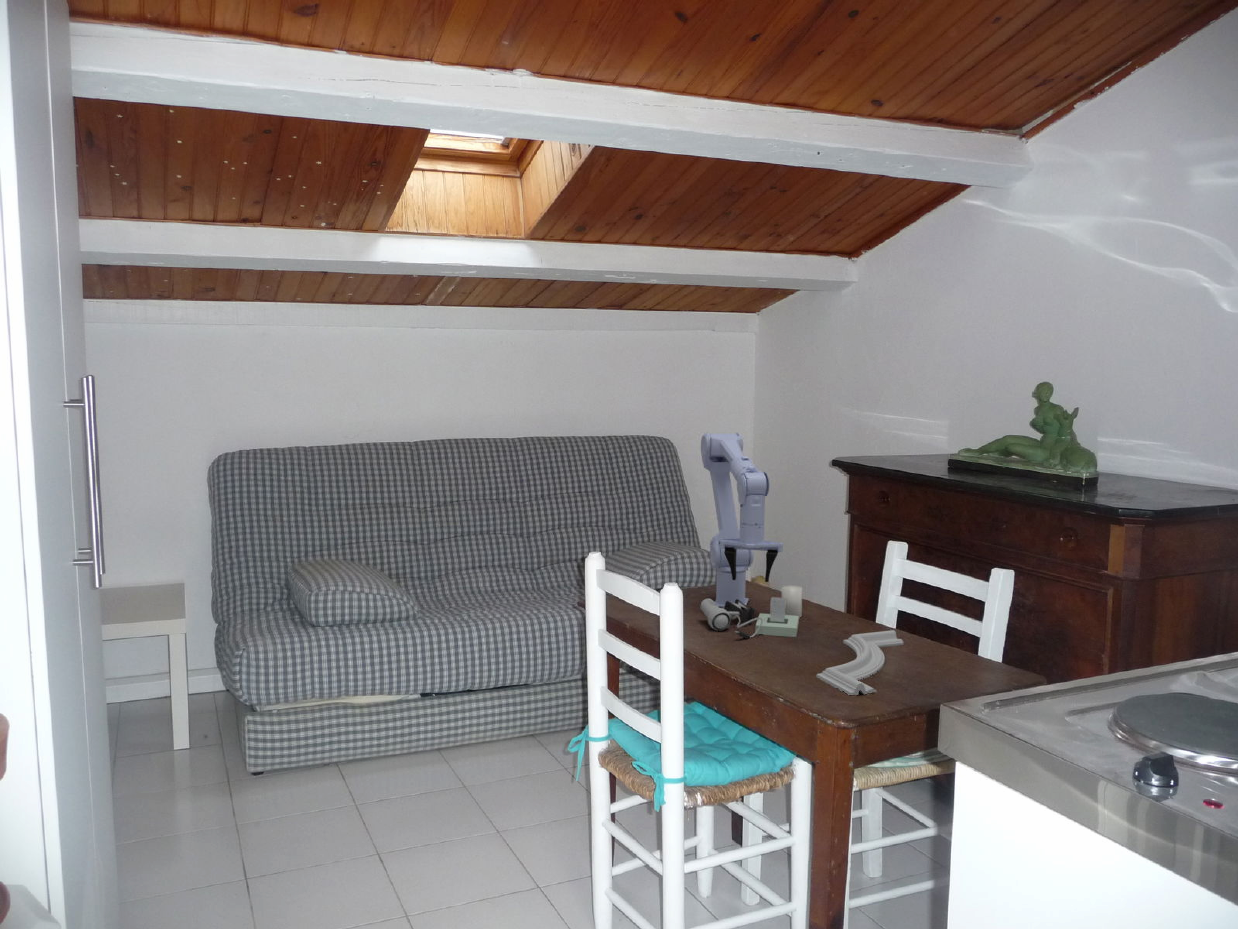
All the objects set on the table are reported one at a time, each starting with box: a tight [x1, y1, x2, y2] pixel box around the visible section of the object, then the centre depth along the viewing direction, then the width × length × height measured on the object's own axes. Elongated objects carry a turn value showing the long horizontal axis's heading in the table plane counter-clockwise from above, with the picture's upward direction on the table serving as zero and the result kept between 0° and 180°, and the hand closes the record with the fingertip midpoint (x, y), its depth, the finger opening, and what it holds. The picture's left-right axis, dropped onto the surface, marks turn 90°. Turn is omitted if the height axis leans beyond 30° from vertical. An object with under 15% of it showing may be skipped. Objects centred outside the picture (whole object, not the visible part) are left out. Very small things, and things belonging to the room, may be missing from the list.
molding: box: [816, 629, 905, 696], centre depth 200 cm, size 42×12×3 cm, turn 156°
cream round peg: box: [781, 584, 803, 619], centre depth 236 cm, size 5×5×7 cm
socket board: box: [754, 612, 800, 638], centre depth 224 cm, size 11×9×2 cm
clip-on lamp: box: [700, 598, 763, 640], centre depth 224 cm, size 12×6×18 cm
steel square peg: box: [769, 596, 786, 624], centre depth 224 cm, size 3×3×7 cm
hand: (750, 580), depth 232 cm, fingers open, 7 cm apart
